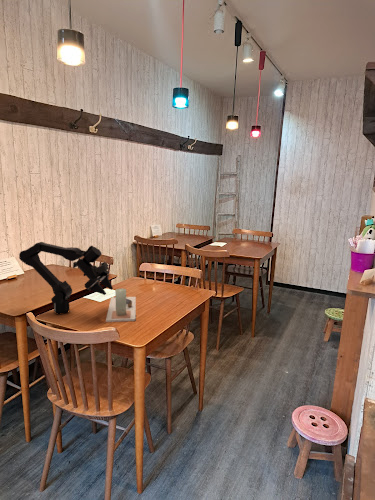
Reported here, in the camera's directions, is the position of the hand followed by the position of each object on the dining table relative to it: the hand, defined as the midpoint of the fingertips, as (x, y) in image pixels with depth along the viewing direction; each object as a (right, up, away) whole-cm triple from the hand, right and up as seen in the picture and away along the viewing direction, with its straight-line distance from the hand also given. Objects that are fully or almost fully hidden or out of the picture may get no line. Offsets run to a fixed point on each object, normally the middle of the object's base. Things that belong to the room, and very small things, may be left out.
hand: (108, 291), depth 170 cm
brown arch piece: (+5, -10, +12) cm, 16 cm away
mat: (+6, -13, +1) cm, 14 cm away
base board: (+4, -11, +11) cm, 16 cm away
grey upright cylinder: (+6, -11, 0) cm, 13 cm away
